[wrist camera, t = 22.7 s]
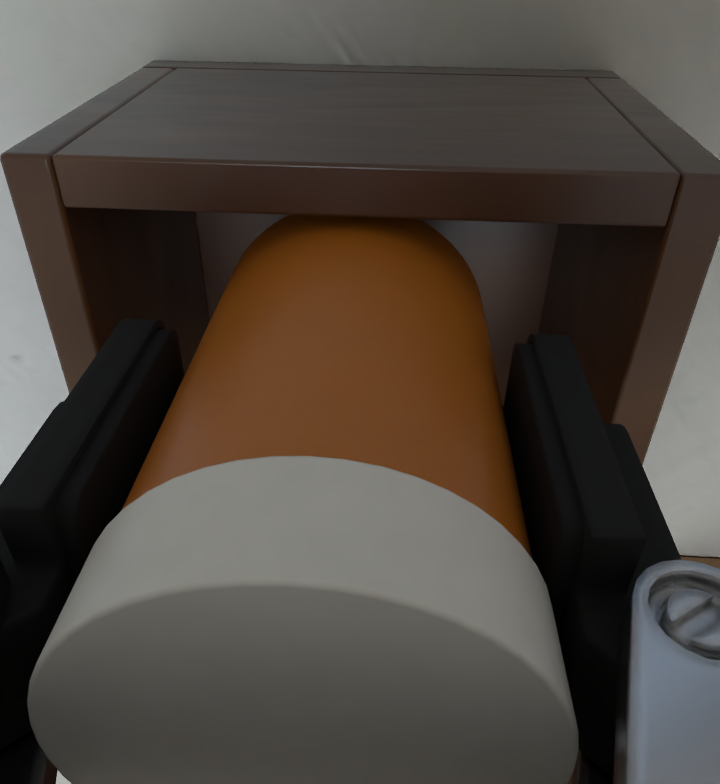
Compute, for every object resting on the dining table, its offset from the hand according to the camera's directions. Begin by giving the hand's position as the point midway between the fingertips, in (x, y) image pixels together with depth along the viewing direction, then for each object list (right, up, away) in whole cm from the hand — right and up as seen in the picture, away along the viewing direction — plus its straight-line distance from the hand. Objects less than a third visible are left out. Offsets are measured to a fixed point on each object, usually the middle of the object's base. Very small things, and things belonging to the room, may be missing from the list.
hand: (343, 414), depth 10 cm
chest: (+1, +3, +9) cm, 9 cm away
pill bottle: (0, +2, +2) cm, 3 cm away
